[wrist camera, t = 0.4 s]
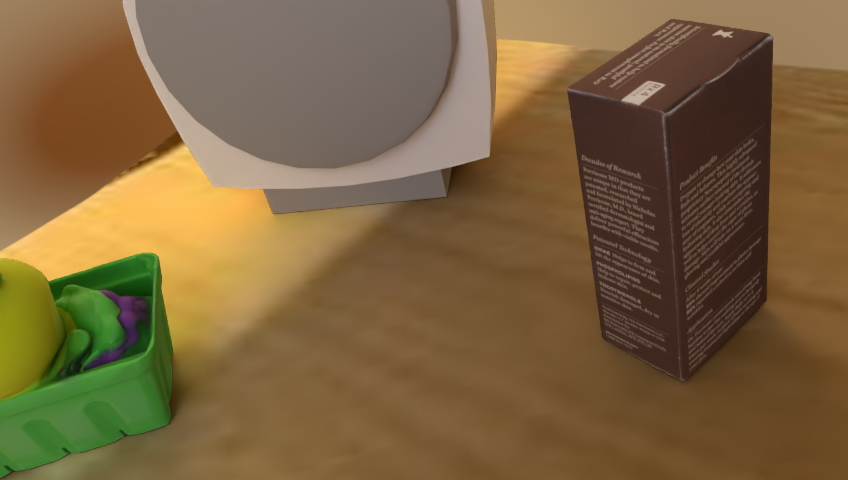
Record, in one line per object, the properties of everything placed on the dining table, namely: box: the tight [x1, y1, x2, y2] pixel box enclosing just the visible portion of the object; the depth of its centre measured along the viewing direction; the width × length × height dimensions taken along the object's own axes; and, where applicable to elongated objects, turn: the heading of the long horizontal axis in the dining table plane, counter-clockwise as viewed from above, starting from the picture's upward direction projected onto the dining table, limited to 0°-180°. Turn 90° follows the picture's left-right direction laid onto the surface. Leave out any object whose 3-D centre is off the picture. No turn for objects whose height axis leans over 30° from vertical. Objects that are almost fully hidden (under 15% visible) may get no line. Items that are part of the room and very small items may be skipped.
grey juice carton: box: [123, 0, 497, 214], centre depth 41 cm, size 18×8×20 cm, turn 83°
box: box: [567, 19, 773, 381], centre depth 30 cm, size 6×4×12 cm
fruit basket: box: [0, 253, 173, 478], centre depth 32 cm, size 11×9×11 cm
